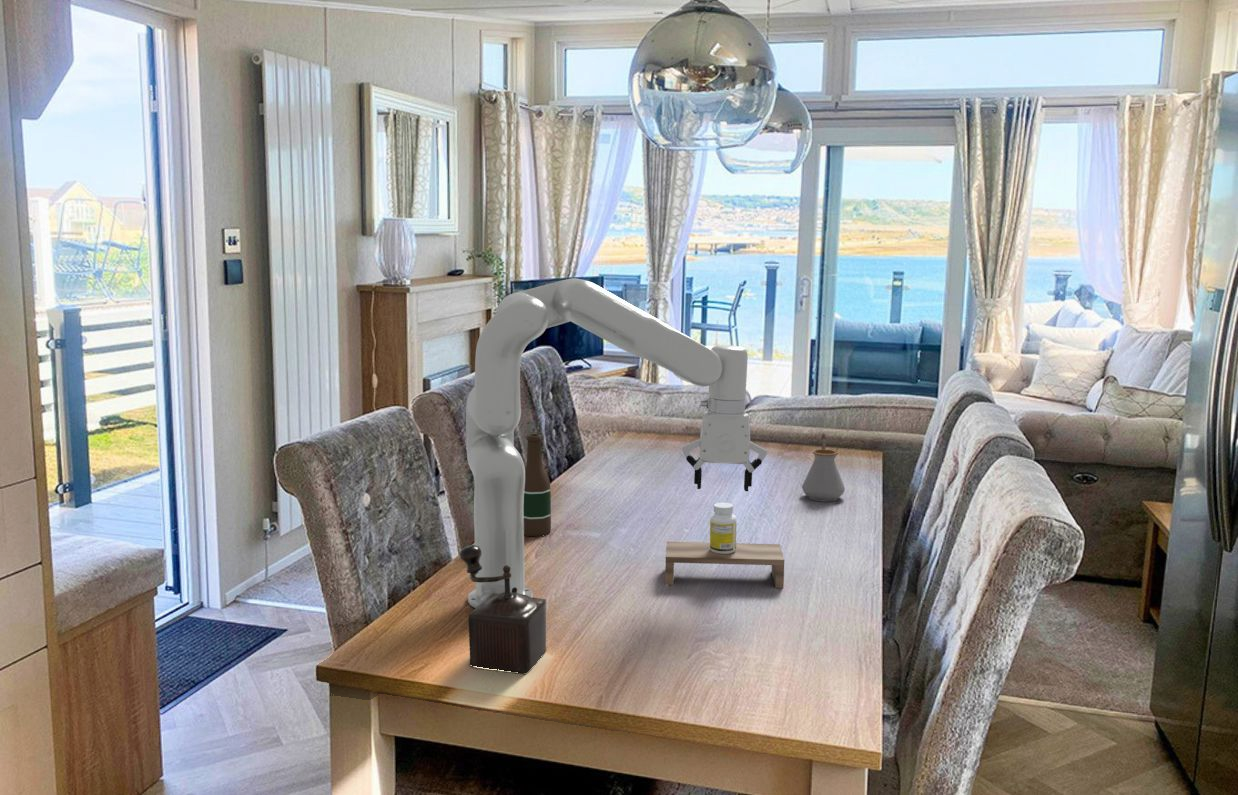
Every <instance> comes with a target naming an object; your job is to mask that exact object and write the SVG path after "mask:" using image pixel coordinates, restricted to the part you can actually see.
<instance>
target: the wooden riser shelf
mask: <svg viewBox="0 0 1238 795" xmlns="http://www.w3.org/2000/svg"><path fill="white" fill-rule="evenodd" d="M665 546H666V548H665V571H664V572H665V577H664V578H665V580H664V581H665V582H664V583H665V586H674V574H675V573H674V572H675V564H703V565H704V564H709V565H710V564H711V565H713V564H714V565H747V566H750V565H751V566H754V565H755V566H771V574H772V579H773V582H774V587H775V589H784V587H785V586H784V585H785V583H784V582H785V557H784V553H783V551H782V548H781V547H782V546H781V544H777V543H744V542H739V543H738V542H736V551H735V552H733V553H730V554H718V553H714V552H712V551H711V550H710V542H702V541H700V542H699V541H697V542H696V541H695V542H694V541H693V542H692V541H691V542H690V541H666V545H665Z"/></svg>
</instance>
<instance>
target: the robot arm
mask: <svg viewBox="0 0 1238 795" xmlns="http://www.w3.org/2000/svg"><path fill="white" fill-rule="evenodd" d="M569 322H571V323H573V324H575V325H577V326H579V327H580V328H582V329H584V330H586V331H588V332H590V333H591V334H594V335H595V336H597V337H599V338H601V339H603V340H604V341H606V342H608V343H610V344H612V345H614V346H615V347H617V348H619V349H621V350H622V351H625V352H627V353H629V354H631V355H632V356H636V357H637V358H641V359H644V360H647V361H649V362H651V363H653V364H655V365H657V366H659V367H661V368H663V369H666V370H668V371H670V372H671V373H672V374H673V375H674V376H675V377H676V378H678V379H680V380H682V381H684V382H687V383H690V384H691V385H694V386H695V387H701V388H704V387H708V393H707V394H708V395H707V398H706V399H701V400H700V407H702V408H703V407H704V408H706V409H707V411H704V413H703V416H702V421H701V427H700V436H699V438H698V439H696V440H693V441H691V442H689V443H686V444H685V445H682V447H681V451H682V453H683V456H684V457H685V460H686V461H687V462H688V463H689V465H690V466H691V467H692V468H693V469H694V476H693V478H694V479H693V484H694V485H697V486H696V488H697V490H700V489H702V476H703V475H702V473H703V471H702V466H703V465H704V464H705V463H710V464H711V463H712V464H729V465H730V464H731V465H732V464H733V465H743V466H744V467H745V470H744V475H743V476H744V477H743V490H744V491H745V492H749V488H750V487H751V488H752V484H753V472H754V471H756V469H758V468H759V466H762V463H763V462H764V459H765V458H766V456H767V455H768V451H767V450H766V449H765V448H763V447H762V446H759V445H758V444H756V443H754V442H752V441H751V425H750V417H749V414H748V413H747V412H746V397H747V396H746V394H747V376H748V358H749V357H748V356H749V355H748V351H747V349H746V348H744V347H743V346H738V345H733V344H731V345H727V344H722V345H716V346H711V345H704V344H702V343H700V342H699V341H697V340H695V339H694V338H691V337H690V336H688V335H687V334H684V333H682V332H680V331H679V330H677V329H676V328H673V327H671V326H670V325H668V324H667V323H664V322H662V321H661V320H659V319H658V318H656V317H654V316H653V315H651V314H649V313H647V312H646V311H644V310H642V309H641V308H639V307H636V306H634V305H633V304H631V303H629V302H627V301H626V300H624V299H622V298H621V297H619V296H617V295H616V294H614V293H612V292H610V291H608V290H606V289H604V288H603V287H601V286H600V285H598V284H596V283H594V282H592V281H589V280H587V279H581V278H574V277H573V278H567V279H562V280H559V281H556V282H551V283H548V284H545V285H544V284H543V285H540V286H536V287H532V288H528V289H523V290H520V291H516V292H513V293H511V294H507V295H506V296H505V297H504V298H503V299H502V300H501V301H500V302H499V304H498V306H497V309H496V313H495V314H494V315H493V316H492V317H491V319H489V321H487V324H485V326H484V328H483V329H482V331H481V333H480V335H479V337H478V340H477V343H476V348H475V363H474V364H475V367H474V387H473V388H472V389H471V390H470V392H469V394H468V396H467V400H466V406H465V407H466V408H465V409H466V410H465V415H466V418H465V421H466V423H465V424H466V425H465V426H466V427H465V429H466V430H465V431H466V432H465V433H466V434H465V435H466V438H465V439H466V458H467V459H466V460H467V464H468V467H469V469H470V471H471V472H472V475H473V484H474V488H473V489H474V491H473V493H474V494H473V525H474V526H473V527H474V528H473V530H474V545H476V546H479V548H480V549H481V557H480V560H479V563H480V565H481V566H482V570H480V571H478V573H477V574H476V577H497V576H502V575H503V573H504V571H503V567H504V566H505V565H509V567H510V568H511V569H510V573H511V575H512V577H510V592H512V588H514V587H515V588H517V593H518V594H523V595H527V596H529V597H532V598H534V593H533V591H532V590H531V589H530V588H529V587H526V586H525V584H526V582H525V581H526V579H525V577H526V576H525V572H526V571H525V569H526V568H525V536H524V488H525V468H526V465H525V463H524V460H523V458H522V455H521V453H520V452H519V451H518V450H517V448H516V447H515V440H514V438H515V437H514V435H515V434H514V433H515V431H514V430H516V428H517V427H518V425H519V423H520V420H521V418H522V416H521V415H522V405H521V403H522V402H521V363H522V357H523V353H524V351H525V349H526V347H527V346H528V345H529V344H530V343H531V342H533V341H534V340H536V339H537V338H539V337H540V336H542V335H543V334H544V332H545V331H546V329H549V328H552V327H556V326H559V325H563V324H566V323H569ZM697 448H699V449H698V450H699V455H698V456H699V457H698V458H696V459H695V457H693V455H692V453H691V451H692V450H695V449H697ZM751 451H753V452H755V453H757V457H756V458H755V459H754V460H753V461H750V454H751ZM503 592H505V582H504V579H503V580H500V581H496V582H481V583H480V582H475V588H474V589H473V590H472V591H470V592H469V594H468V595H467V601H468V604H469V605H470V606H471V607H473V608H474V609H475V608H476V607H477V606H478V605H480V604H481V603H482V602H483V601H484V600H485V599H486V598H488V597H489V596H490V595H491V594H493V593H496V594H501V593H503Z"/></svg>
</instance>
